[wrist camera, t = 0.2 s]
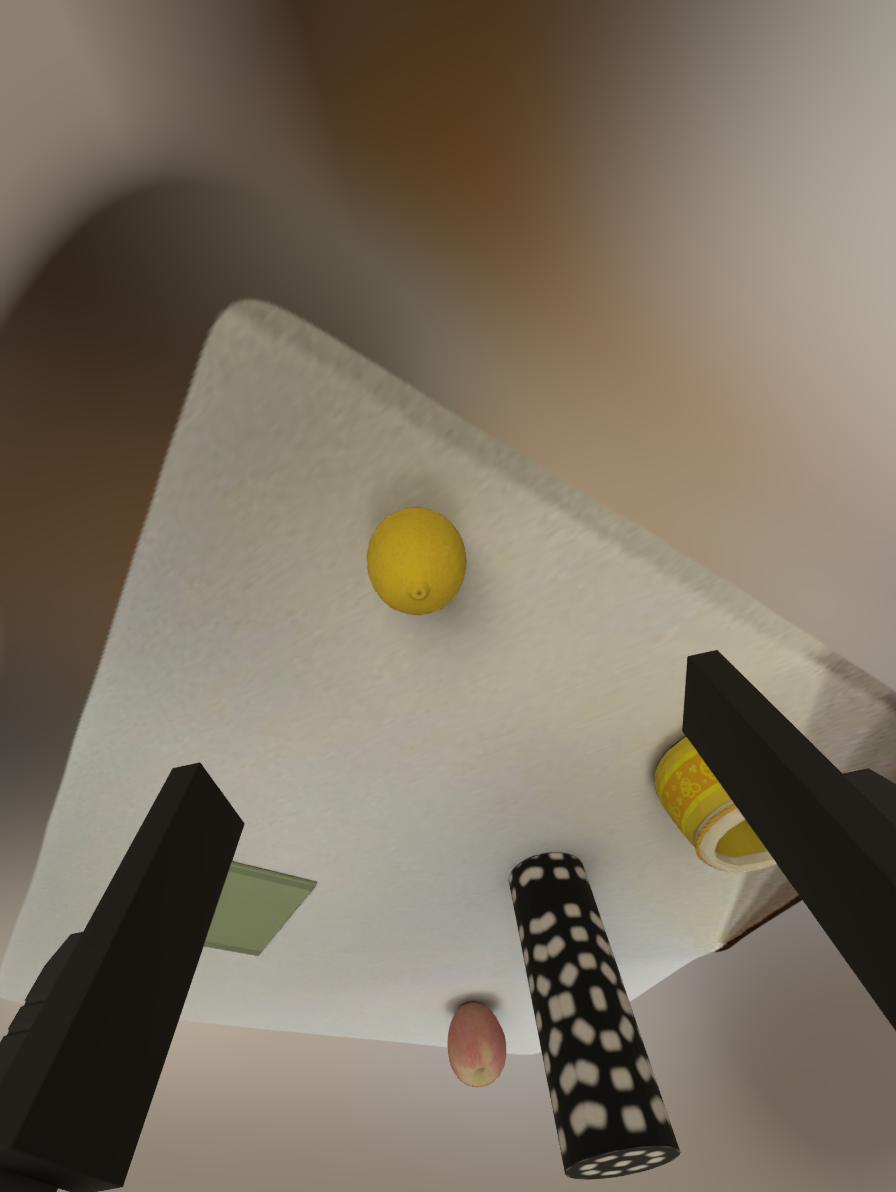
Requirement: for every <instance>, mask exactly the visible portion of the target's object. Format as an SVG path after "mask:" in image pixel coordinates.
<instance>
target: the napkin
mask: <svg viewBox="0 0 896 1192" xmlns="http://www.w3.org/2000/svg"><path fill="white" fill-rule="evenodd" d="M316 883H317V882H314V881H310V880H305V879H301V878H297V877H293V876H289V875H285V874H281V873H277V872H273V871H268V870H264V869H260V868H256V867H252V866H248V865H244V864H240V863H236V862H232V863H231V866H230V869H229V872H228V875H227V878H226V881H225V884H224V887H223V890H222V893H221V896H220V898H219V901H218V904H217V907H216V910H215V913H214V916H213V919H212V922H211V925H210V928H209V931H208V934H207V937H206V940H205V943H204V947H210V948H216V949H221V950H227V951H232V952H238V953H244V954H249V955H255V956H258V955H259V954H260V953H261V952H262V951H263V949H264V948H265V947H266V946H267V944H268V943H269V942H270V941H271V940H272V938H273V937H274V936H275V935H276V933H277V932H278V931H279V930H280V929H281V927H282V926H283V925H284V924H285V922H286V921H287V920H288V919H289V918H290V916H291V915H292V914H293V913H294V911H295V910H296V909H297V908H298V907H299V905H300V904H301V903H302V902H303V900H304V899H305V898H306V897H307V896H308V894H309V893H310V892H311V891H312V890H313V888H314V887H315V886H316Z"/></svg>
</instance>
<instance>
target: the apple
mask: <svg viewBox="0 0 896 1192" xmlns="http://www.w3.org/2000/svg"><path fill="white" fill-rule="evenodd" d="M448 1054H449V1061H450V1064H451V1067H452V1069H453V1071H454V1073H455V1075H456V1076H457V1077H458V1079H459V1080H460V1081H462V1082H463V1083H464V1084H466V1085H468V1086H472V1087H483V1086H487V1085H489V1084H491V1083H493V1082H494V1081H495V1080H496V1079H497V1078H498V1077H499V1076H500V1074H501V1072H502V1070H503V1068H504V1065H505V1059H506V1041H505V1036H504V1033H503V1030H502V1028H501V1026H500V1024H499V1022H498V1020H497V1018H496V1016H495V1015H494V1013H493V1012H492V1011H491V1010H490V1009H488V1008H487V1007H485V1006H483V1005H481V1004H478V1003H475V1002H470V1003H466V1004H463V1005H462V1006H461V1007H460V1008H459V1009H458V1010H457V1011H456V1013H455V1014H454V1016H453V1019H452V1021H451V1024H450V1028H449V1033H448Z"/></svg>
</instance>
